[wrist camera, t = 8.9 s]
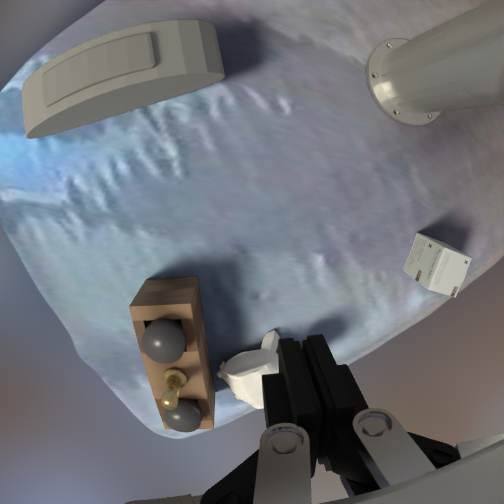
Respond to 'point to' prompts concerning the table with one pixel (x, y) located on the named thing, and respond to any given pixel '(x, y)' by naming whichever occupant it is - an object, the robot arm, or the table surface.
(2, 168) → the table surface
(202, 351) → the walnut mount
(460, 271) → the skincare box
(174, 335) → the knob
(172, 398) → the brass door knob
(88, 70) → the alarm clock
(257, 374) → the white piece
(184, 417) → the dark grey rounded lump
